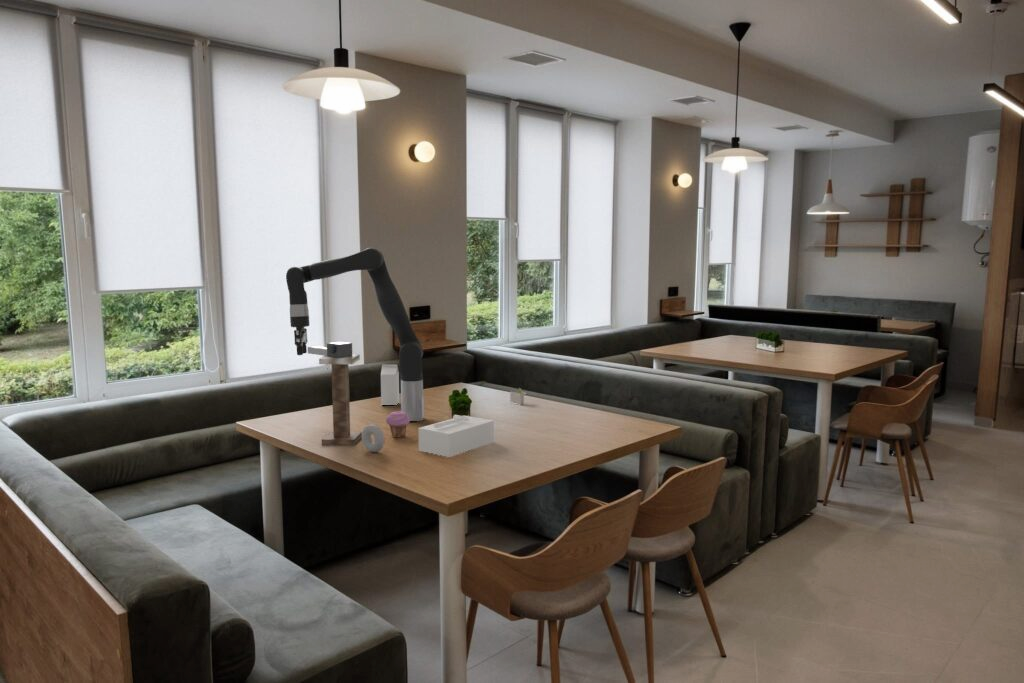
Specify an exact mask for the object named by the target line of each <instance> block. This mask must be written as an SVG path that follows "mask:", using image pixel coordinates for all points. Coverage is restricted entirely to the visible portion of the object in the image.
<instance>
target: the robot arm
mask: <svg viewBox="0 0 1024 683" xmlns="http://www.w3.org/2000/svg"><path fill="white" fill-rule="evenodd" d="M354 271H367V272H368V275H369V276H370V279H371V281H372V282H373V285H374V286H373V287H374V288H375V293H376V294H375V295H376V298H377V301H378V304H379V305H378V306H379V307H380V310H381V312H382V314H383V317H384V318H385V320H386V321H387V323H388V325H389V327H390V328H391V329H392V330H393V331H394V333H395V335H396V336H397V339H398V342H399V345H400V348H399V351H398V352H399V354H398V363H399V364H398V366H399V368H398V370H399V376H400V408H401V409H400V411H403V412H405V413H406V414H408V415H409V418H410V421H417V422H423V421H422V420H424V419H425V396H424V379H423V378H424V377H423V376H424V374H423V371H422V358H423V356H424V348H423V345H422V344H421V342H420V339H418V337H417V335H416V333H415V331H414V329H413V327H412V324H411V322H410V319H409V316H408V312H407V310H406V307H405V305H404V303H403V300H402V299H401V296H400V294H399V292H398V290H397V288H396V286H395V284H394V282H393V281H392V279H391V276H390V274H389V271H388V268H387V265H386V261H385V258H384V255H383V253H382V251H380V250H379V249H378V248H374V247H368V248H365V249H364V250H361V251H358V252H356V253H354V254H350V255H348V256H343V257H338V258H333V259H326V260H322V261H316V262H313V263H311V264H309V265H304V266H291V267H290V268H288V269H287V271H286V275H285V276H286V277H285V280H286V286H287V289H288V293H289V320H290V327H291V328H295V329H294V331H293V334H294V345H295V347H296V355H297V356H303V355H304V354H308V348H307V344H308V341H309V340H308V333H307V331H308V330H307V328H306V327H310V314H309V313H310V312H309V306H308V304H309V303H308V295H307V291H306V290H305V284H306V283H309V282H312V281H318V280H324V279H326V278H327V279H328V278H332V277H335V276H340V275H342V274H345V273H348V272H354ZM423 418H424V419H423Z"/></svg>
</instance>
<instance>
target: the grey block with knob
mask: <svg viewBox="0 0 1024 683" xmlns="http://www.w3.org/2000/svg"><path fill="white" fill-rule="evenodd" d="M307 354H309V355H310V354H311V355H317V356H323V357H324V356H327V357H334V358H345V357H352V354H353V342H345V341H333V342H326V346H319V345H318V346H317V345H312V346H307Z"/></svg>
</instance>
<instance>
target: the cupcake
mask: <svg viewBox="0 0 1024 683" xmlns="http://www.w3.org/2000/svg"><path fill="white" fill-rule="evenodd" d="M385 422H386V424H387V425H388V426H389V428H390V433H391V436H392V437H393V438H405V437H406V436H407V425H408V424H410V423H411V422H410V418H409V415H408V414H406V413H405V412H403V411H401V410H397V411H392V412H390V414H388V415H387V417H386V420H385Z"/></svg>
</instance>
